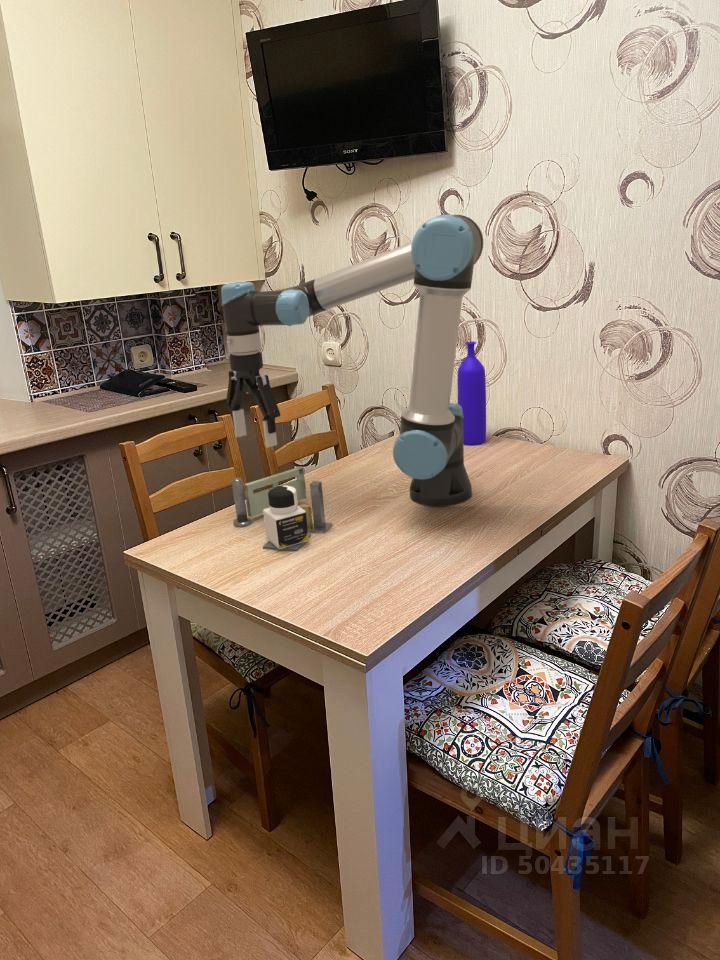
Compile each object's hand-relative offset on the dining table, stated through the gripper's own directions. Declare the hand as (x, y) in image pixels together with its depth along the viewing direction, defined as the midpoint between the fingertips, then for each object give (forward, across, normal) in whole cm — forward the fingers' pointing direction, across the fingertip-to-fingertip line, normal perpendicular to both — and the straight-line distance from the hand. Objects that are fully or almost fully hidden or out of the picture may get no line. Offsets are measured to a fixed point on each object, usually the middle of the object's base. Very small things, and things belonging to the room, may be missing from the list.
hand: (255, 440), depth 170 cm
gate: (+16, +6, +1) cm, 17 cm away
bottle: (+17, +6, +71) cm, 74 cm away
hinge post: (+17, +6, -9) cm, 20 cm away
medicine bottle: (+17, +22, -8) cm, 29 cm away
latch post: (+17, +22, +1) cm, 28 cm away
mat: (+17, +22, -8) cm, 29 cm away
